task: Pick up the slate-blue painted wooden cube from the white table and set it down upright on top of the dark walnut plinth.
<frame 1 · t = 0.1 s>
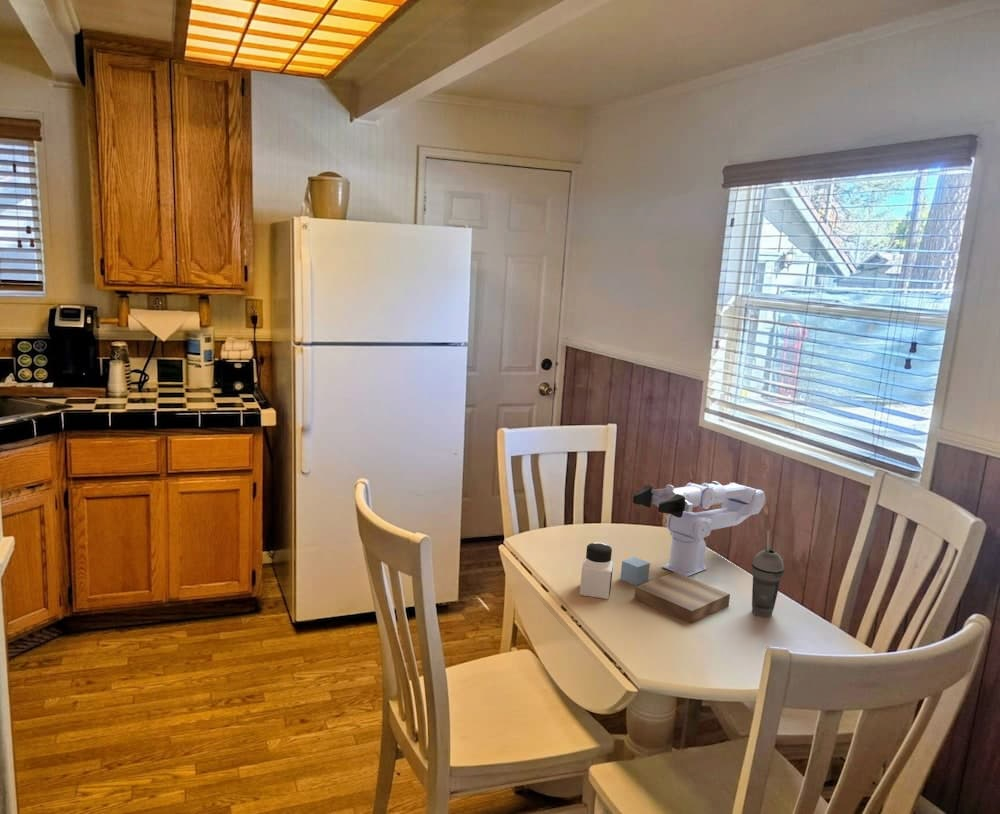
hand: (646, 503, 187), 22 cm above the table, tool horizontal, fingers open, 7 cm apart
walnut plinth: (681, 601, 183), on the table
medicine bottle: (595, 592, 186), on the table
slate block: (634, 580, 195), on the table
beverage cup: (761, 614, 180), on the table
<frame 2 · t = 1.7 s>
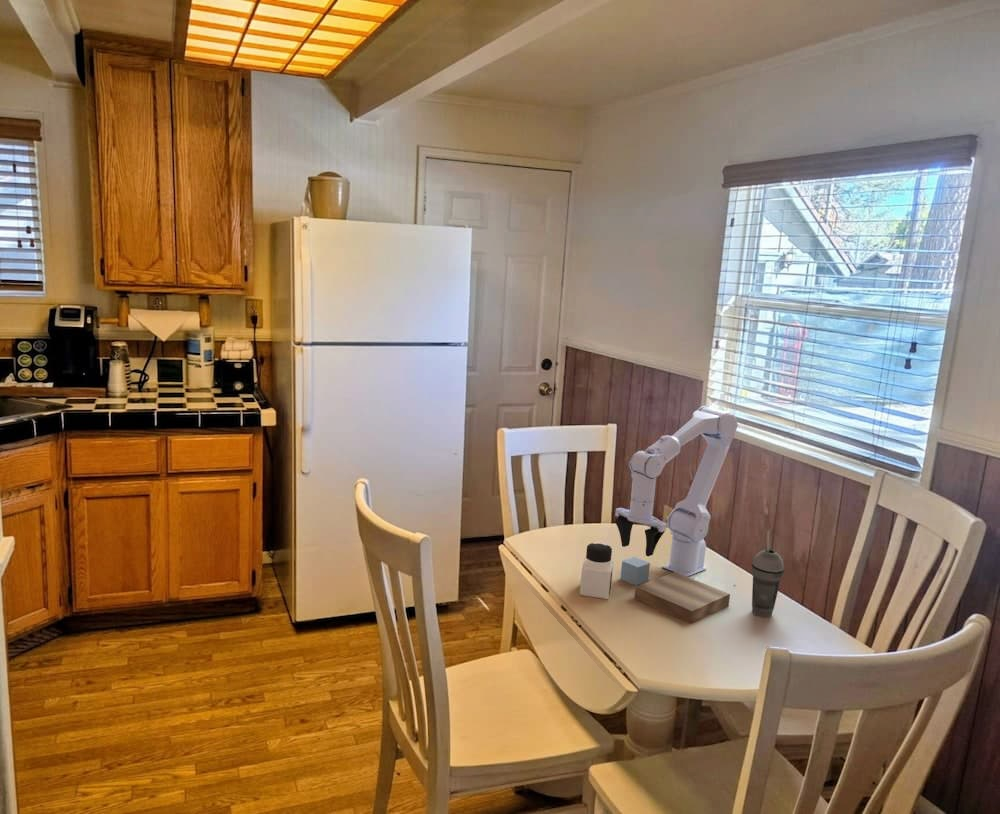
hand: (637, 550, 193), 8 cm above the table, tool pointing down, fingers open, 7 cm apart
nothing on the table moved.
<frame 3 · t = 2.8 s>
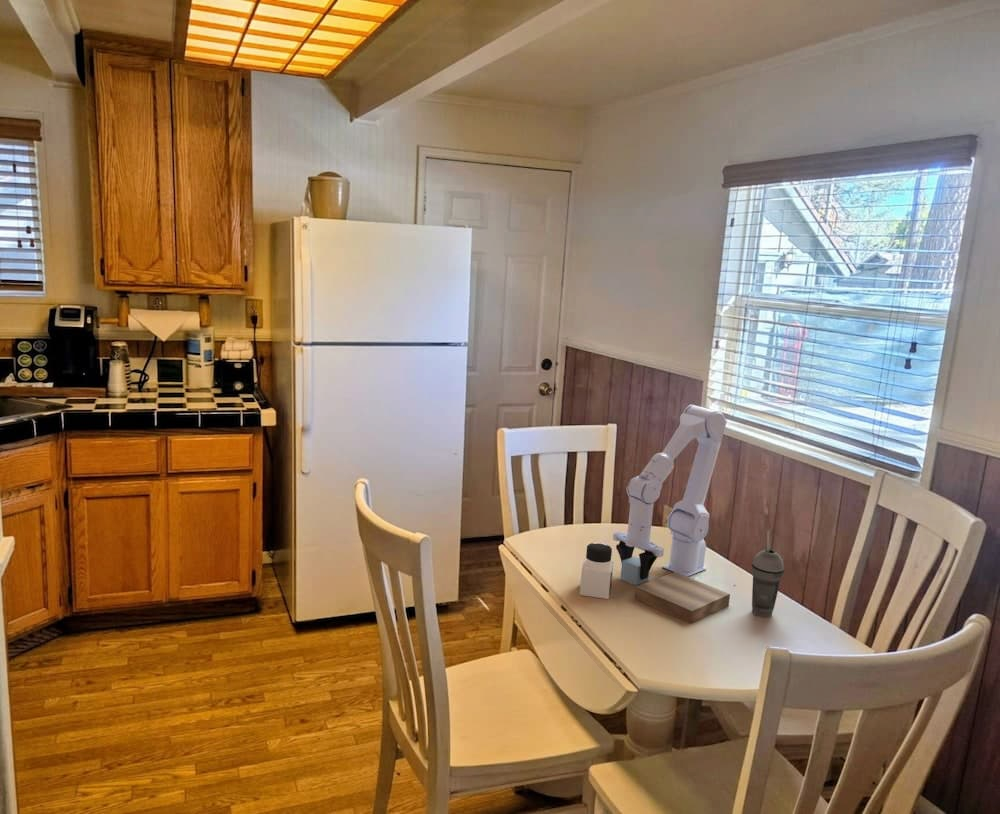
hand: (634, 574, 194), 1 cm above the table, tool pointing down, fingers closed on slate block, 5 cm apart
slate block: (634, 580, 195), on the table, touching gripper
everything else where it was.
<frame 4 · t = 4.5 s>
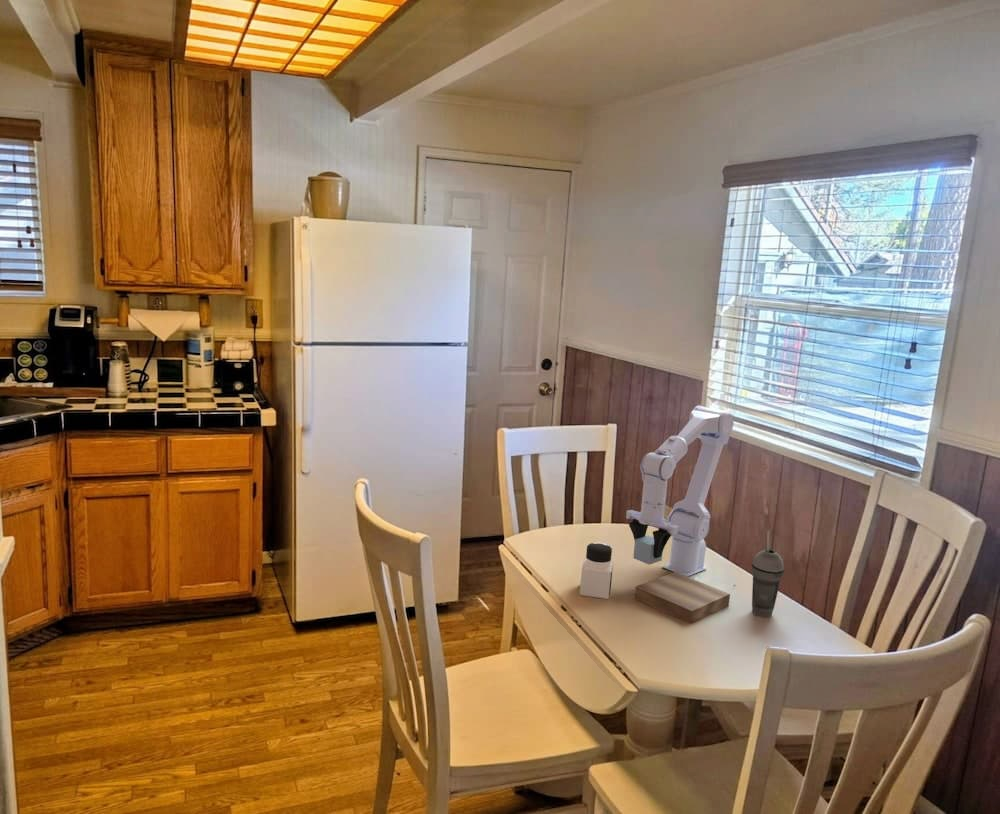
hand: (648, 553, 190), 8 cm above the table, tool pointing down, fingers closed on slate block, 5 cm apart
slate block: (647, 559, 191), point 7 cm above the table, touching gripper
everything else where it was.
when the fingers open (5 cm above the table, at t = 6.2 s): slate block stays where it is, resting on walnut plinth.
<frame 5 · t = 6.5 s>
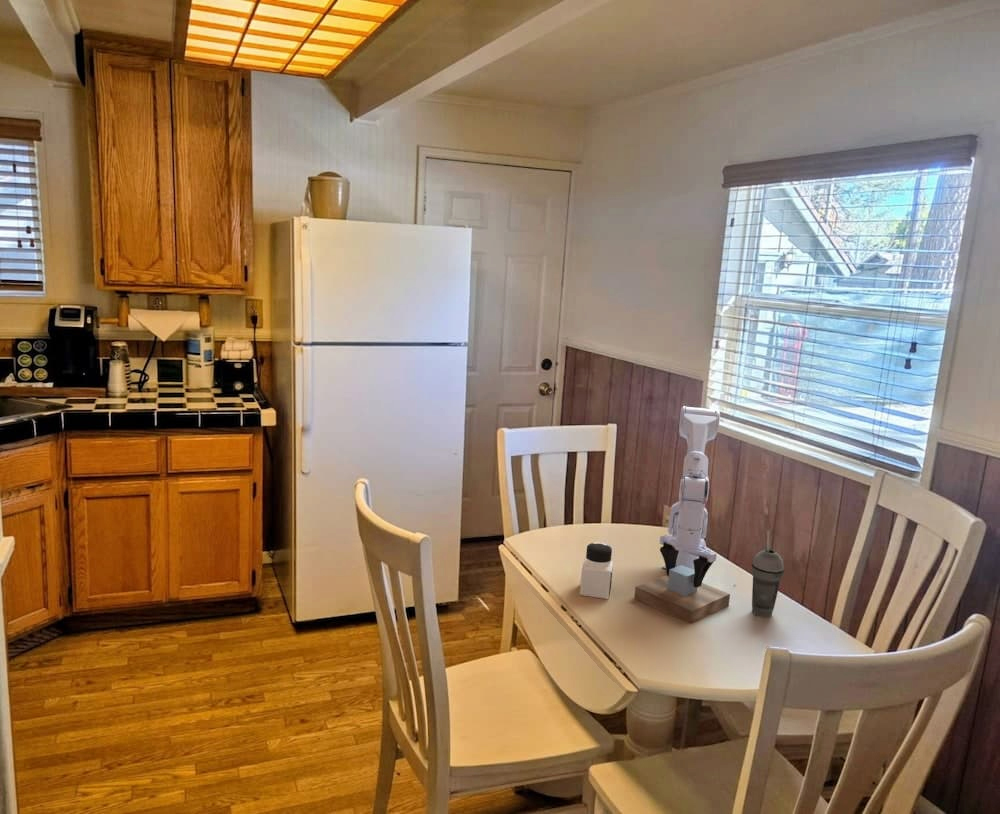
hand: (683, 580, 182), 5 cm above the table, tool pointing down, fingers open, 7 cm apart
slate block: (682, 590, 183), point 3 cm above the table, touching walnut plinth
everything else where it was.
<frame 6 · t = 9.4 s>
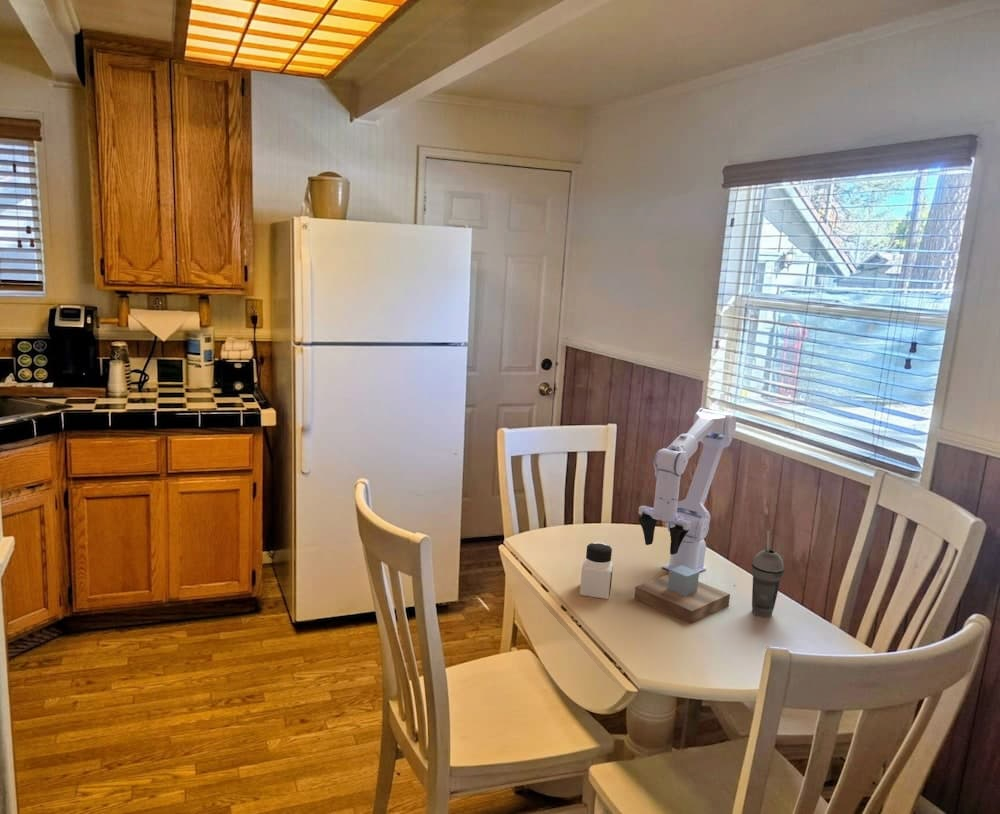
hand: (661, 548, 191), 9 cm above the table, tool pointing down, fingers open, 7 cm apart
nothing on the table moved.
at the end: slate block inside the target area on the walnut plinth (0.1 cm from its centre), point 3.0 cm above the walnut plinth's base; slate block tilted 0°; the gripper is holding nothing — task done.
